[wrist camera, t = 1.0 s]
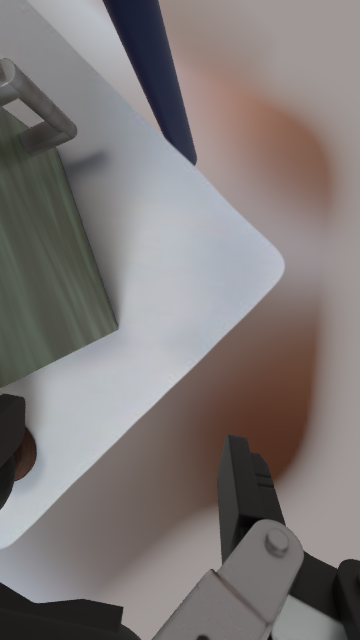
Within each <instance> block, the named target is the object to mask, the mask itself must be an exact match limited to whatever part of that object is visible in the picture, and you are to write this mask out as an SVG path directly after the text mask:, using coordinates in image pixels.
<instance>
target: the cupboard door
mask: <svg viewBox="0 0 360 640" xmlns="http://www.w3.org/2000/svg"><path fill="white" fill-rule="evenodd" d="M18 98H19V99H20V100H21V101H22V102H24V103H25V104H26V105H27V106H28V107H30V108H31V109H32V110H33V111H34V112H35V113H37V114H38V115H39V116H40V117H41V118H42V119H44V120H45V121H44V122H42V123H40V124H38V125H36V126H33V127H31V128H29V127H28V126H26V125H25V124H24V123H22V122H21V121H20V120H18V119H17V118H16V117H14V116H13V115H12V114H10V113H9V112H8V111H6V110H5V109H4V108H2V106H4V105H6V104H8V103H10V102H12V101H14V100H16V99H18ZM76 135H77V127H76V125H75V124H74V123H73V122H72V121H71V120H70V119H69V118H68V117H67V116H66V115H65V114H64V113H63V112H62V111H61V110H60V109H59V108H58V107H57V106H56V105H55V104H54V103H53V102H52V101H51V100H50V99H49V98H48V97H47V96H46V95H45V94H44V93H43V92H42V91H41V90H40V89H39V88H38V87H37V86H36V85H35V84H34V83H33V82H32V81H31V80H30V79H29V78H28V77H27V76H26V75H25V74H24V73H23V72H22V71H21V70H20V69H19V68H18V67H17V66H16V65H15V64H14V63H13V62H12V61H11V60H9V59H7V58H3V59H0V388H2V387H4V386H6V385H8V384H10V383H12V382H14V381H16V380H18V379H20V378H22V377H24V376H26V375H28V374H30V373H32V372H34V371H36V370H38V369H40V368H42V367H44V366H46V365H48V364H50V363H52V362H54V361H56V360H58V359H60V358H62V357H64V356H66V355H68V354H70V353H72V352H74V351H76V350H78V349H80V348H82V347H84V346H86V345H88V344H90V343H92V342H94V341H96V340H98V339H100V338H102V337H104V336H106V335H108V334H110V333H112V332H114V331H116V330H118V327H117V324H116V321H115V319H114V316H113V313H112V310H111V307H110V304H109V301H108V298H107V295H106V292H105V289H104V286H103V284H102V281H101V278H100V275H99V272H98V269H97V266H96V263H95V260H94V257H93V254H92V251H91V249H90V246H89V243H88V240H87V237H86V234H85V231H84V228H83V225H82V222H81V219H80V216H79V214H78V211H77V208H76V205H75V202H74V199H73V196H72V193H71V190H70V187H69V184H68V181H67V179H66V176H65V173H64V170H63V167H62V164H61V161H60V158H59V155H58V152H57V149H56V146H58V145H61V144H63V143H65V142H67V141H69V140H72V139H73V138H75V137H76Z"/></svg>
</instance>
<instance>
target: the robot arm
mask: <svg viewBox="0 0 360 640" xmlns="http://www.w3.org/2000/svg"><path fill="white" fill-rule="evenodd" d="M24 432H25V399H24V398H23V397H20V396H14V395H9V394H2V395H0V467H1V466H2V465H3V464H4V463H5V462H6V461H7V460H8V458H9V457H10V456H11V455H12V454H13V453H14V452H15V451H16V450H17V448H18V447H19V446H20V444H21V442H22V440H23V437H24ZM217 488H218V506H219V520H220V538H221V554H222V566H221V568H220V569H219V570H218V571H217V572H215V571H214V570H213V569H211V570H209V571H208V572H207V573H206V574H205V575H204V576H203V577H202V578H201V579H200V581H199V582H198V583H197V584H196V586H195V587H194V588H193V589H192V591H191V592H190V593H189V594H188V596H187V597H186V598H185V599H184V600H183V602H182V603H181V604H180V605H179V607H178V608H177V609H176V610H175V611H174V613H173V614H172V615H171V616H170V618H169V619H168V620H167V621H166V623H165V624H164V625H163V626H162V628H161V629H160V630H159V631H158V632H157V634H156V635H155V636H154V637H153V639H152V640H360V561H358V560H354V559H348V560H344V561H342V562H341V563H340V565H339V567H338V569H337V568H335V567H332V566H330V565H328V564H326V563H324V562H322V561H320V560H318V559H316V558H314V557H313V556H311V555H309V554H308V553H306V552H305V551H304V550H303V548H302V545H301V543H300V541H299V540H298V538H297V537H296V536H295V535H294V533H293V532H292V531H291V530H290V529H288V528H287V527H286V525H285V521H284V518H283V515H282V511H281V508H280V505H279V502H278V498H277V495H276V491H275V489H274V484H273V481H272V479H271V474H270V471H269V468H268V465H267V463H266V462H265V461H264V459H263V458H262V457H261V456H260V455H259V454H257V453H251V452H250V450H249V446H248V441H247V438H246V437H240V436H235V435H229V434H227V435H226V438H225V442H224V447H223V451H222V455H221V460H220V464H219V469H218V478H217ZM122 614H123V607H121V606H116V605H111V604H106V603H101V602H96V601H91V600H86V599H77V600H67V601H58V602H48V603H33V602H31V601H30V600H28V599H26V598H25V597H23V596H22V595H20V594H18V593H17V592H15V591H13V590H12V589H10V588H9V587H7V586H5V585H4V584H2V583H0V640H141V639H140V638H139V637H138V636H137V635H136V634H135V633H134V632H133V631H131V630H130V629H129V628H127V627H126V626H124V625H122V624H121V620H122Z"/></svg>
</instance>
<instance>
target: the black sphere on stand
mask: <svg viewBox="0 0 360 640" xmlns="http://www.w3.org/2000/svg"><path fill="white" fill-rule="evenodd" d="M36 454H37V453H36V445H35V442H34V439H33V437H32V435H31V433H30V432H29V431H28V429H27V428H26V427H25V432H24V437H23V440H22V442H21V444H20V446H19V447H18V448H17V450H16V451H15V452H14V453H13V454H12V455H11V456H10V457H9V458H8V460H7V461H6V462H5V463H4V464H3V465H2V466H1V467H0V510H1V508H2V507H3V506H4V504H5V502H6V501H7V499H8V497H9V495H10V493H11V491H12V488H13V484H14V481H17V480H20V479H21V478H23V477H24V476H25V475H26V474H27V473H28V472H29V471H30V470H31V469H32V467H33V466H34V464H35V461H36Z"/></svg>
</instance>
